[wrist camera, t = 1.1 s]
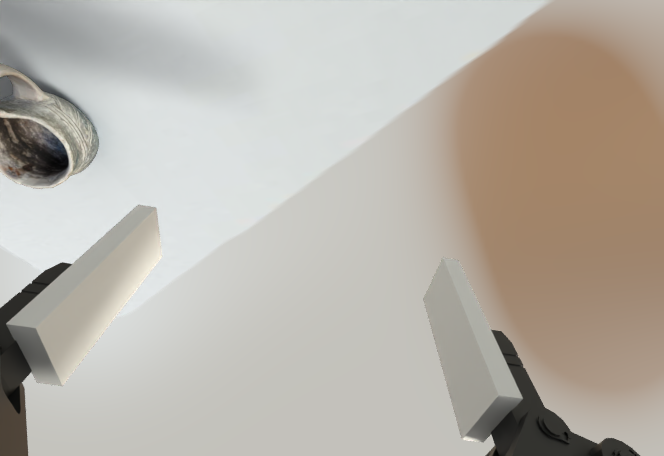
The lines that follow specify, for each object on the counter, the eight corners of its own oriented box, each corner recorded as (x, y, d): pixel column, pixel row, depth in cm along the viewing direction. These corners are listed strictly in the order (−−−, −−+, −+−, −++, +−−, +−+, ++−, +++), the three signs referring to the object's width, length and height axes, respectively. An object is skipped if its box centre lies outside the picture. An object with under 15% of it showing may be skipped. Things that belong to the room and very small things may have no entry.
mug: (44, 163, 41) (-33, 199, 33) (-5, 51, 35) (-117, 59, 26) (120, 168, 41) (62, 205, 33) (86, 56, 35) (3, 67, 26)
